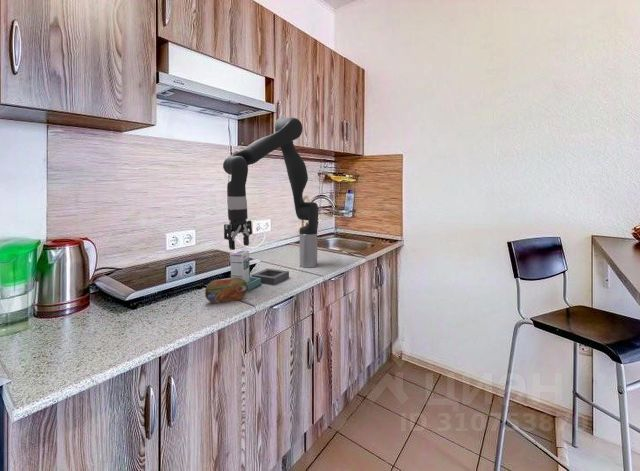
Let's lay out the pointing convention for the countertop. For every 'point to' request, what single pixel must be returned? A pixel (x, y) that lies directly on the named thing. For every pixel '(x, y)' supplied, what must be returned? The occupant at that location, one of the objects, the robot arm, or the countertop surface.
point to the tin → (226, 290)
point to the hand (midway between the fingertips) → (239, 247)
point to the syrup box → (240, 265)
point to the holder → (271, 276)
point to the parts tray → (254, 283)
